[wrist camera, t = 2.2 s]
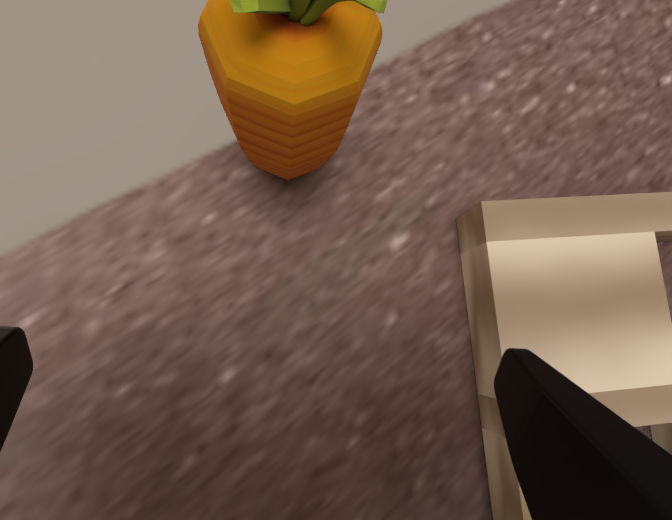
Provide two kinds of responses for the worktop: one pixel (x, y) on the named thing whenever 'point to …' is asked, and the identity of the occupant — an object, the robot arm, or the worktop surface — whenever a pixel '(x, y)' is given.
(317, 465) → the worktop surface
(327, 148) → the carrot
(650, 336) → the socket board
